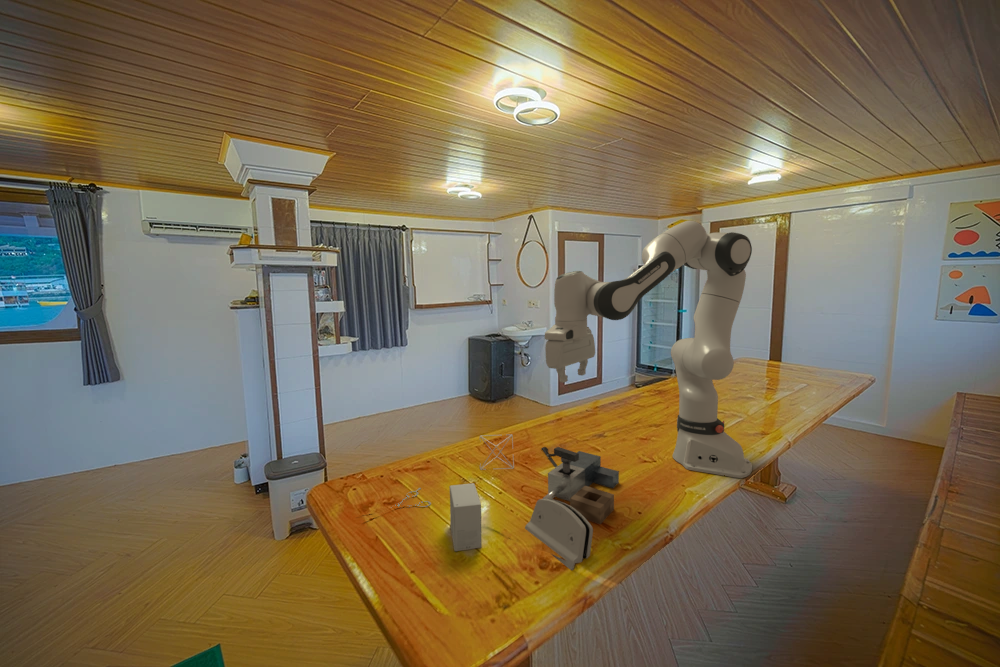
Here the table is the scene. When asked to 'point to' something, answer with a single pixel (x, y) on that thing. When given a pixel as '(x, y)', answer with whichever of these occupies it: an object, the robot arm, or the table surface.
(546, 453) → the forked twig branch
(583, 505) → the brown square ring block
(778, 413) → the table surface
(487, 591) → the table surface
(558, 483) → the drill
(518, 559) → the table surface
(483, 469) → the geometric polyhedron
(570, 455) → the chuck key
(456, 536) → the skincare box
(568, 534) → the grey curved-top slotted block
